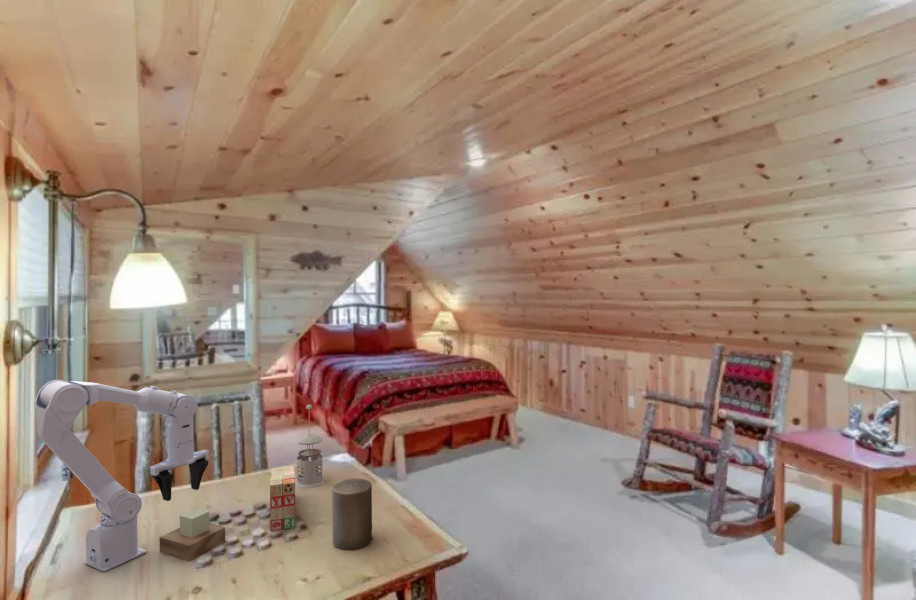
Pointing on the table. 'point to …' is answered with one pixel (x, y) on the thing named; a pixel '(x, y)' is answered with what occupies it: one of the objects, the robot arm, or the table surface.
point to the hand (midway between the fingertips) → (181, 494)
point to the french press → (309, 468)
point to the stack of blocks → (282, 498)
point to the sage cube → (194, 522)
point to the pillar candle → (352, 513)
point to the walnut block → (191, 542)
